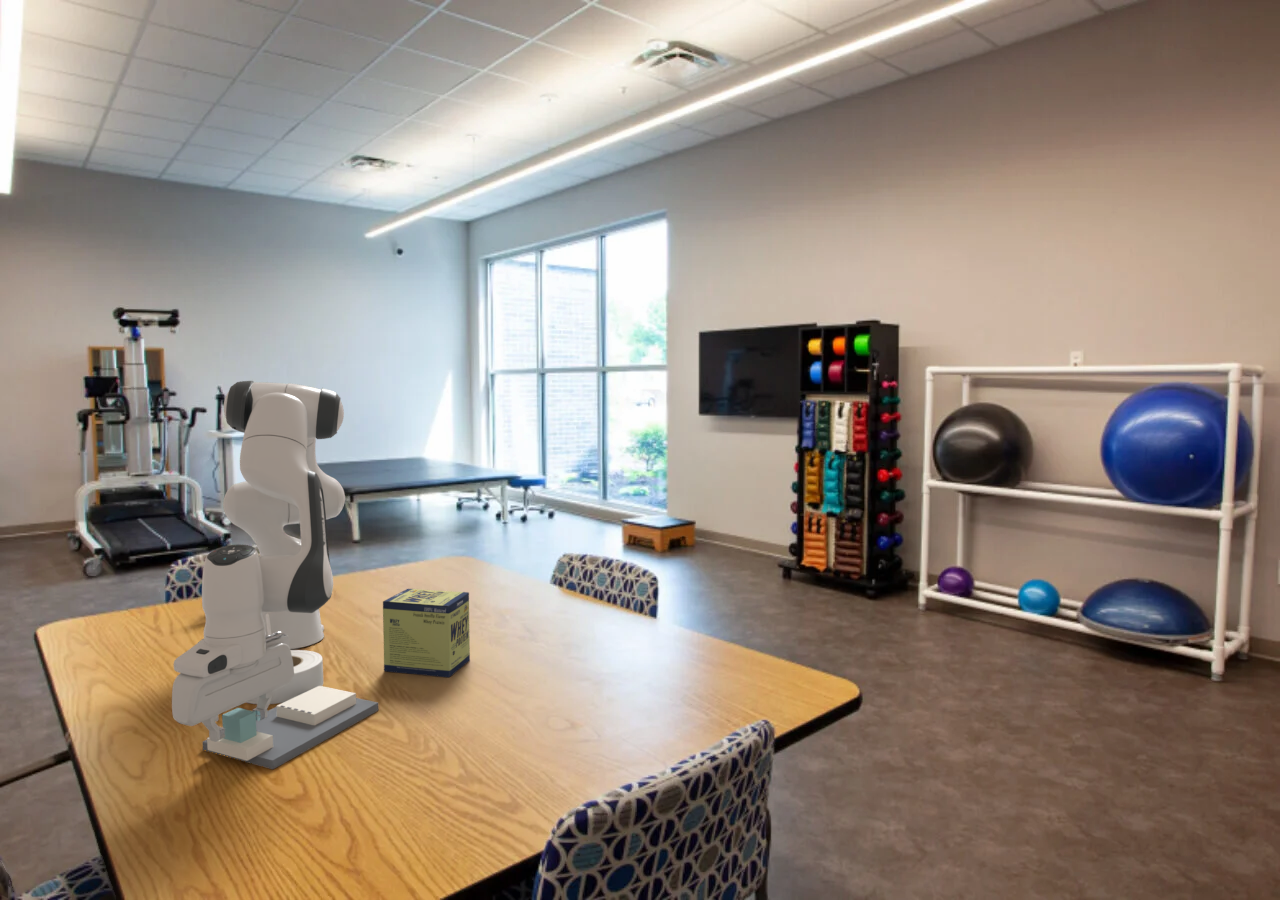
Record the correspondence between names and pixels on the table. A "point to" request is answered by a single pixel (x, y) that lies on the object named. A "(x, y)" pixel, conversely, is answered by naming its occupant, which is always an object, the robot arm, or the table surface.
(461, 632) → the protein box
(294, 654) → the roll of tape
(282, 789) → the table surface
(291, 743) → the desk mat
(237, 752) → the cube on white base
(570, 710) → the table surface
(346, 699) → the pad
